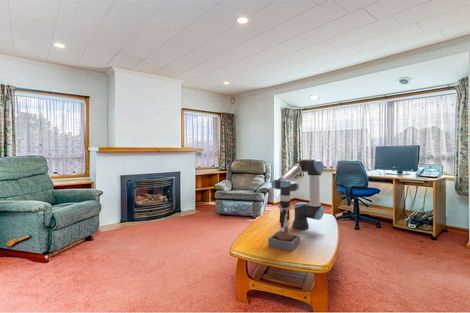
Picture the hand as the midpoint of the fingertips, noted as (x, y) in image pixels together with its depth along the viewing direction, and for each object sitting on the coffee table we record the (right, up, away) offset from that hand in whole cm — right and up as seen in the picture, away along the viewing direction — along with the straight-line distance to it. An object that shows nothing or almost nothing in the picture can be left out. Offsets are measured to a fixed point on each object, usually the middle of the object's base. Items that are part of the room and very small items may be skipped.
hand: (284, 229), depth 194 cm
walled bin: (0, -12, 0) cm, 12 cm away
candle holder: (0, -6, 0) cm, 6 cm away
